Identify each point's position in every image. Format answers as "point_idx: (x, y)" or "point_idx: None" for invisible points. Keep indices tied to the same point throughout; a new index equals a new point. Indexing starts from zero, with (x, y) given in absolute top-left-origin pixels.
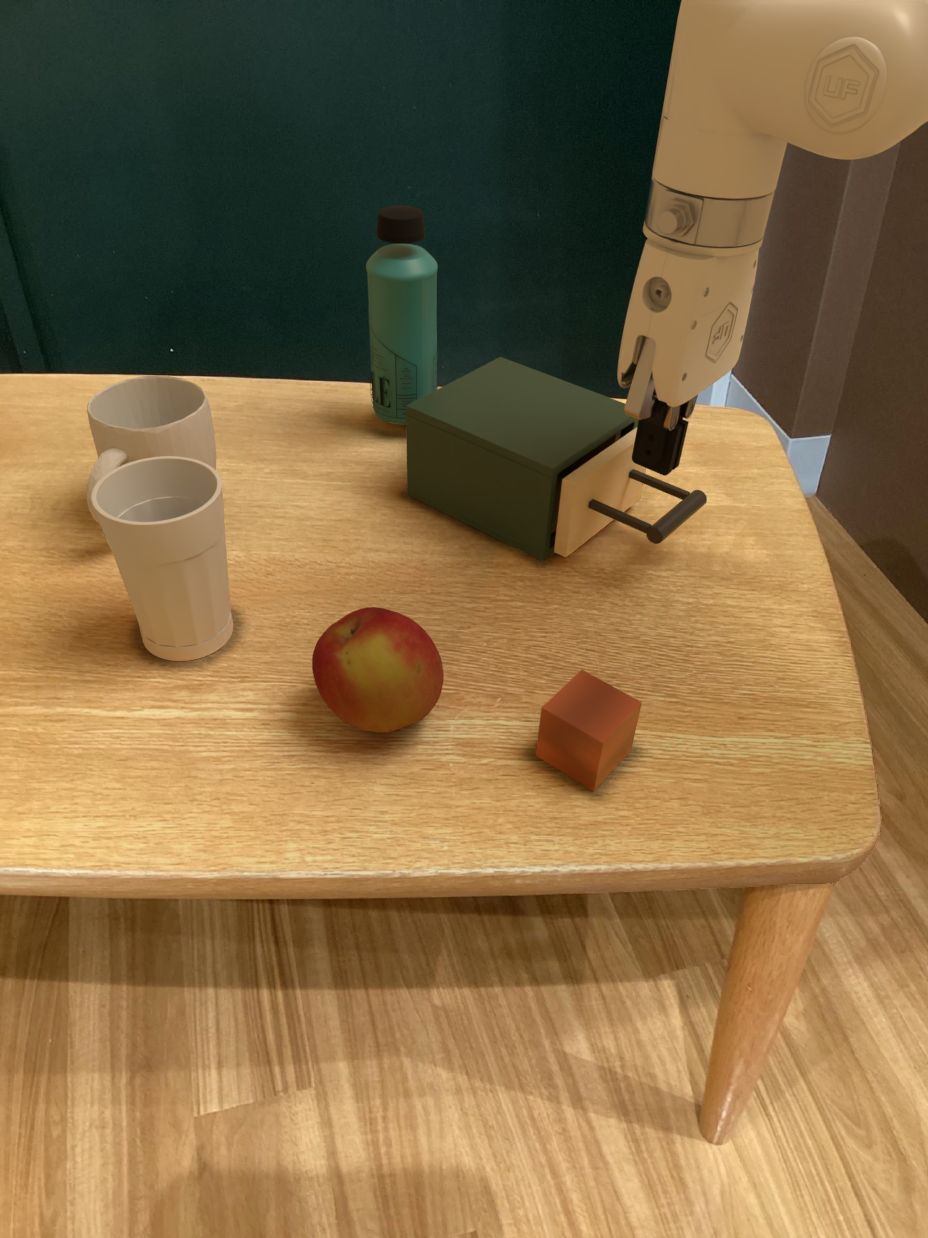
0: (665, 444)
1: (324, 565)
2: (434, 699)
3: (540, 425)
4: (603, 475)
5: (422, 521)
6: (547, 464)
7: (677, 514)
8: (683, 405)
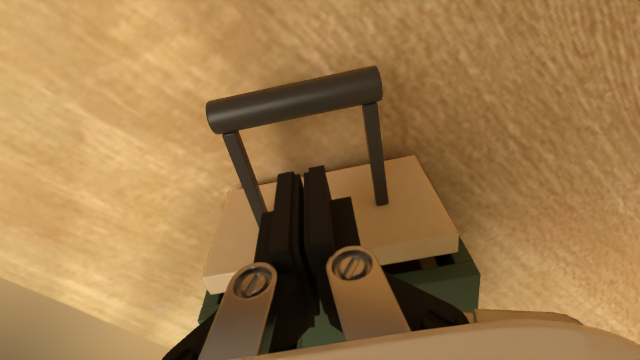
0: (331, 223)
1: (573, 271)
2: None
3: None
4: (359, 232)
5: None
6: (475, 285)
7: (310, 96)
8: (276, 305)
